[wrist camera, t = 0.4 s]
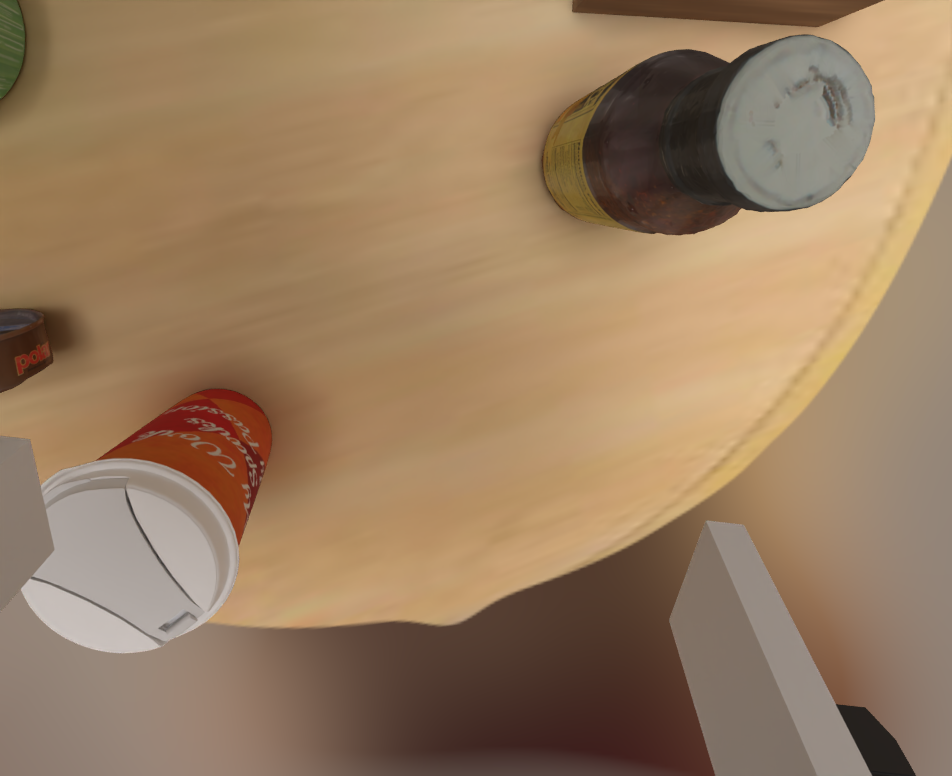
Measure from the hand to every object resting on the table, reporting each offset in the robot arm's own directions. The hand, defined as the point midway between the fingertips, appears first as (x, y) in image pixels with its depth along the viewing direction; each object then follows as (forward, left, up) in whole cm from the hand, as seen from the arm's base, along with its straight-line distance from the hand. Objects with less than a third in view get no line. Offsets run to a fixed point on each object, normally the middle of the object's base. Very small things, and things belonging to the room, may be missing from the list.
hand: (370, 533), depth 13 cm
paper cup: (+7, -9, -24) cm, 27 cm away
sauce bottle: (-8, +11, -24) cm, 28 cm away
